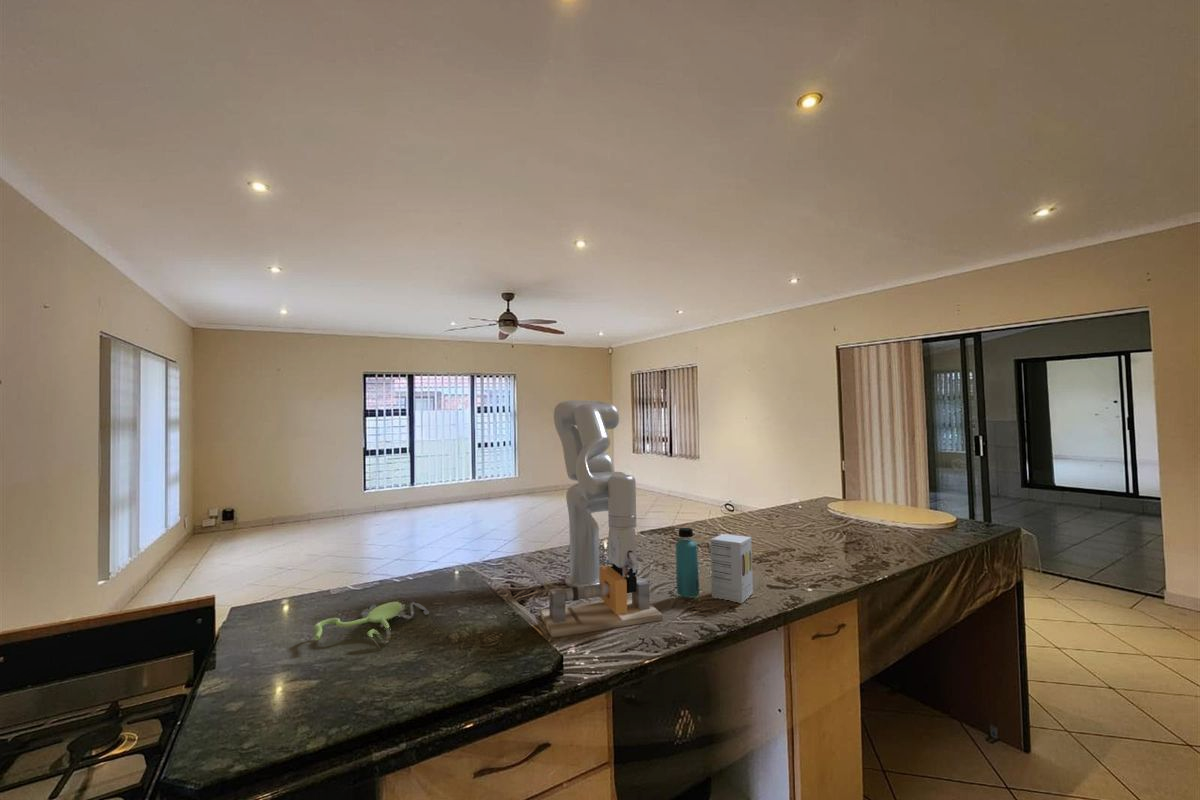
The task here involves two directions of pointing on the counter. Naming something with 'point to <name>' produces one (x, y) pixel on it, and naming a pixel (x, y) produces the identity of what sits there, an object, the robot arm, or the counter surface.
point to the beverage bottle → (687, 565)
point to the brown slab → (614, 589)
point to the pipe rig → (595, 610)
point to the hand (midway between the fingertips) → (623, 586)
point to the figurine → (376, 615)
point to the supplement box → (731, 567)
